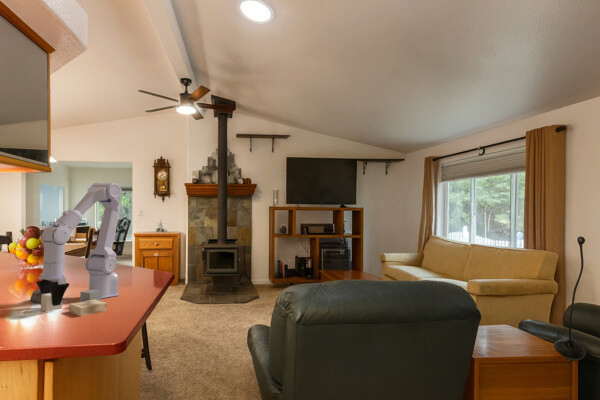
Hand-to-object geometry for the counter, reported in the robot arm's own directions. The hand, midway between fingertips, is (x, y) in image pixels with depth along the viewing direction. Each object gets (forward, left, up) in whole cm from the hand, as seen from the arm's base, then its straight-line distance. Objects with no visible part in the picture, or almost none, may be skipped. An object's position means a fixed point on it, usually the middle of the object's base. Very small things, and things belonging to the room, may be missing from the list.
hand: (51, 303), depth 116 cm
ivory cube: (0, 0, -2) cm, 2 cm away
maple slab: (-6, +12, -2) cm, 14 cm away
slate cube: (-10, +5, -2) cm, 11 cm away
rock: (-4, -15, -2) cm, 15 cm away
